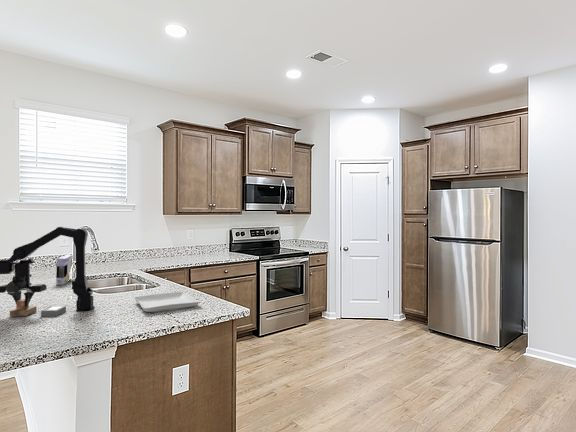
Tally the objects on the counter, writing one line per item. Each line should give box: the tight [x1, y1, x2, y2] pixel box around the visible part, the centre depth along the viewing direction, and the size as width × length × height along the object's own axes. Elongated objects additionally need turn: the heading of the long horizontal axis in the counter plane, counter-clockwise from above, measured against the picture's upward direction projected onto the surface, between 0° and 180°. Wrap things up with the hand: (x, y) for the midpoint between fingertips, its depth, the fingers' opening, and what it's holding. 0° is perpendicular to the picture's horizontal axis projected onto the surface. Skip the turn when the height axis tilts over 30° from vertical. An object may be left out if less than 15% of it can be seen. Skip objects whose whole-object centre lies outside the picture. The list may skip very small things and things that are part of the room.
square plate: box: [133, 291, 200, 313], centre depth 190 cm, size 27×27×4 cm
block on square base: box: [9, 298, 38, 317], centre depth 172 cm, size 7×8×6 cm
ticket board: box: [40, 305, 67, 317], centre depth 173 cm, size 7×8×3 cm
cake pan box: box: [55, 254, 74, 286], centre depth 248 cm, size 19×5×18 cm, turn 14°
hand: (22, 306), depth 172 cm, fingers closed on block on square base, 3 cm apart
